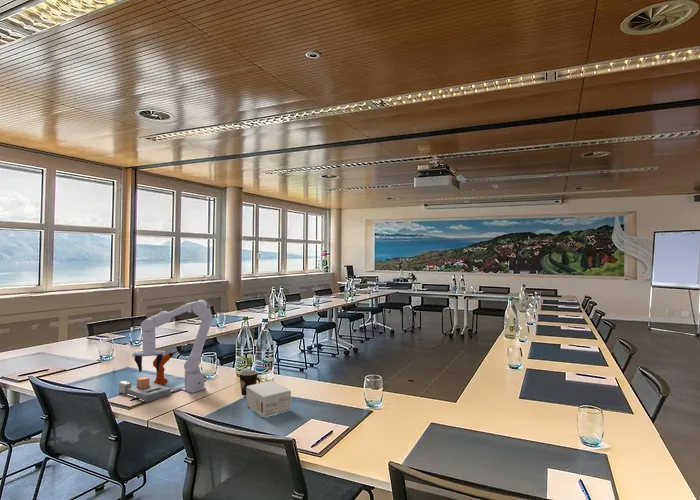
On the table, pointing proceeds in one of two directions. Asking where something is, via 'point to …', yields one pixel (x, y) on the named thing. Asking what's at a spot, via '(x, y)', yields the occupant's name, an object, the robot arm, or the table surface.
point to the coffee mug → (247, 379)
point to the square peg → (142, 382)
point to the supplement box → (268, 398)
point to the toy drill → (162, 368)
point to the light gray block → (124, 386)
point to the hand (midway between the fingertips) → (149, 370)
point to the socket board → (149, 392)
